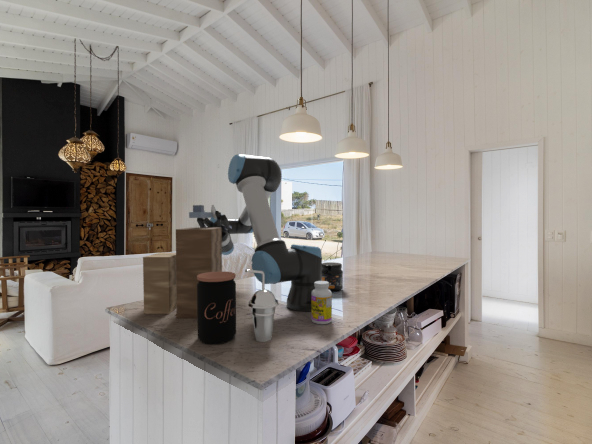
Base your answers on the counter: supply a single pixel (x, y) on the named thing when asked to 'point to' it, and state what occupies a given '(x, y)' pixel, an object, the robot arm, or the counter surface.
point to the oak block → (159, 283)
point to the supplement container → (333, 275)
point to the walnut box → (195, 264)
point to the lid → (200, 212)
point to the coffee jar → (216, 307)
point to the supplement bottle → (321, 303)
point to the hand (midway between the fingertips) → (206, 208)
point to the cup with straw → (263, 311)
